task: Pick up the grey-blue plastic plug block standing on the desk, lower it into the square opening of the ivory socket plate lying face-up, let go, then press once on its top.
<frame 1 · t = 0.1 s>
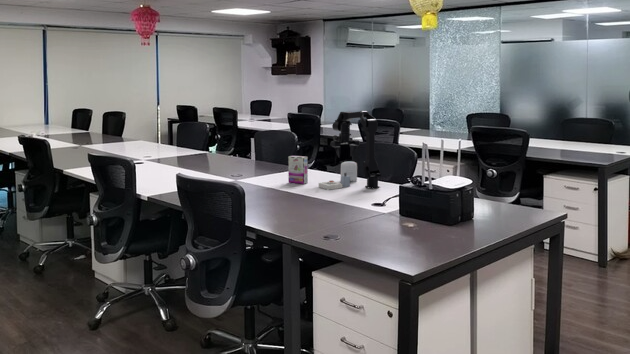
hand: (345, 156, 365), 15 cm above the table, tool pointing down, fingers open, 9 cm apart
plug: (345, 186, 348), on the table
socket plate: (330, 187, 344), on the table
candy bar box: (298, 183, 358), on the table
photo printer: (348, 181, 364), on the table
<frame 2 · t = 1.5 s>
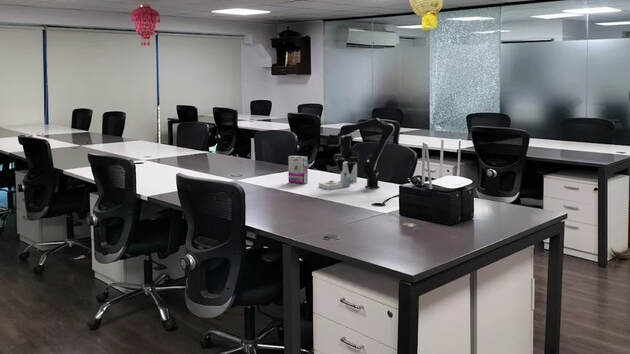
hand: (345, 172, 347), 8 cm above the table, tool pointing down, fingers open, 9 cm apart
nothing on the table moved.
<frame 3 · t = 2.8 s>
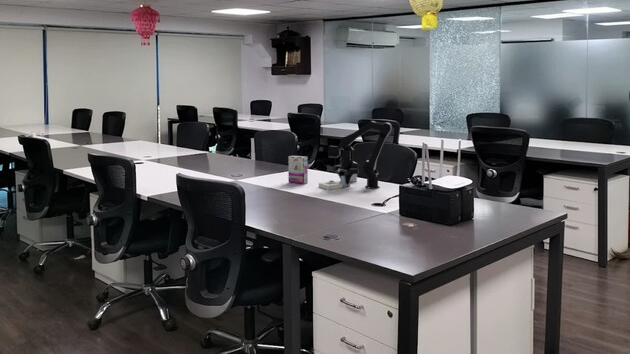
hand: (345, 183, 348), 1 cm above the table, tool pointing down, fingers closed on plug, 4 cm apart
plug: (345, 186, 348), on the table, touching gripper
everything else where it was.
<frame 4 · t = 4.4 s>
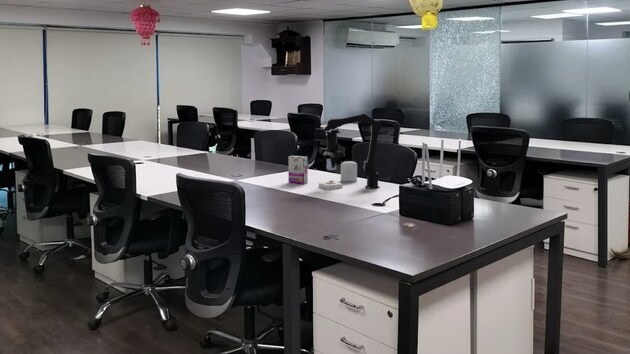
hand: (331, 167, 342), 12 cm above the table, tool pointing down, fingers closed on plug, 4 cm apart
plug: (331, 169, 343), point 11 cm above the table, touching gripper
everything else where it was.
when the fingers open (3 cm above the table, at t = 6.1 s): plug drops 1 cm, resting on socket plate.
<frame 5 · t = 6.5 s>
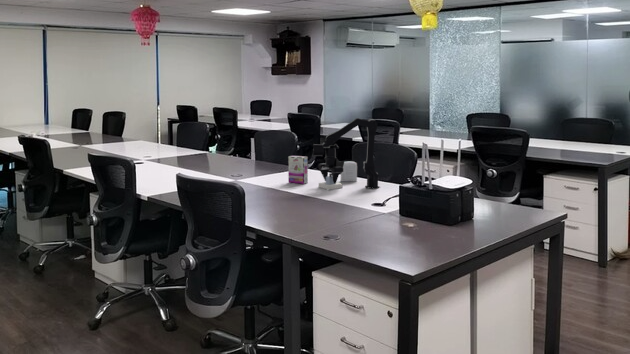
hand: (330, 182, 343), 3 cm above the table, tool pointing down, fingers open, 9 cm apart
plug: (330, 186, 344), resting on socket plate
everything else where it was.
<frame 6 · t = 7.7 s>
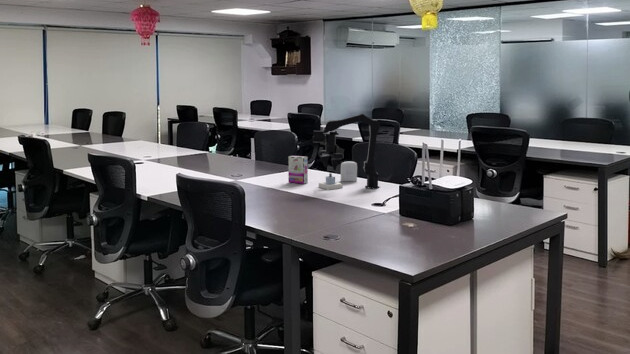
hand: (330, 169, 342), 11 cm above the table, tool pointing down, fingers open, 8 cm apart
nothing on the table moved.
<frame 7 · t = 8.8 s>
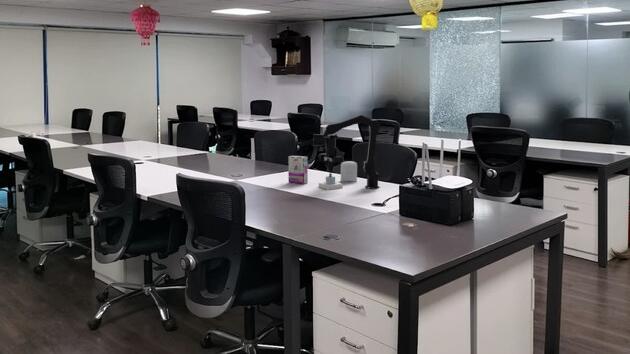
hand: (330, 172, 342), 9 cm above the table, tool pointing down, fingers closed
nothing on the table moved.
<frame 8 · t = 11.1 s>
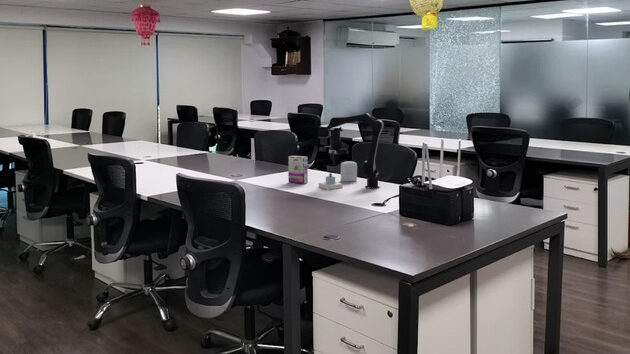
hand: (335, 164, 348), 12 cm above the table, tool pointing down, fingers closed
nothing on the table moved.
at the end: plug 0.0 cm off-centre on the socket plate, point 0.3 cm above the socket plate's base; plug tilted 0°; the gripper is holding nothing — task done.
